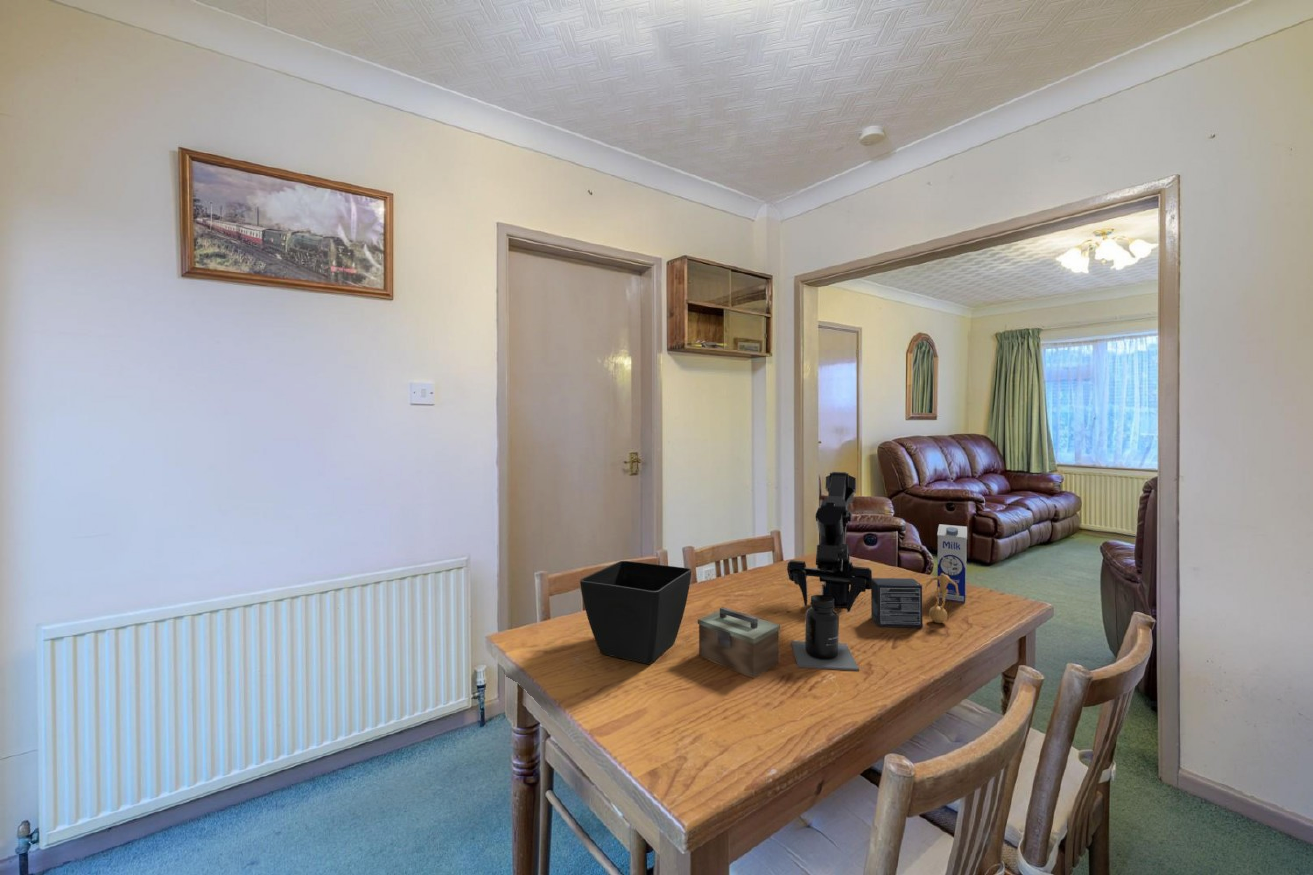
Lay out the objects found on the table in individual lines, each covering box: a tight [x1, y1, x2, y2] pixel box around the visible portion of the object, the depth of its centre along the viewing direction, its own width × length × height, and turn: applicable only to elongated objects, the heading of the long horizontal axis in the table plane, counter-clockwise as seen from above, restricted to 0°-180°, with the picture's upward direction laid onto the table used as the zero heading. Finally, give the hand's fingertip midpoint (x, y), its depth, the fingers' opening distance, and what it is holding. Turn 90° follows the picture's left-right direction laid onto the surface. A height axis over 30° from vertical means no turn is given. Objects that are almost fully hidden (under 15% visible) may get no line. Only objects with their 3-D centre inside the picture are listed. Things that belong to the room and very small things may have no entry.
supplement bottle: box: [804, 594, 840, 660], centre depth 113 cm, size 7×7×12 cm
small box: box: [870, 577, 924, 629], centre depth 131 cm, size 11×6×10 cm, turn 84°
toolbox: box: [697, 606, 781, 679], centre depth 111 cm, size 14×10×10 cm
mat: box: [790, 640, 860, 671], centre depth 113 cm, size 12×12×1 cm
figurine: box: [924, 573, 959, 624], centre depth 131 cm, size 8×6×12 cm
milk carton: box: [936, 524, 968, 604], centre depth 148 cm, size 7×7×20 cm
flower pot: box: [579, 560, 692, 665], centre depth 117 cm, size 19×19×17 cm
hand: (826, 608), depth 119 cm, fingers open, 9 cm apart
